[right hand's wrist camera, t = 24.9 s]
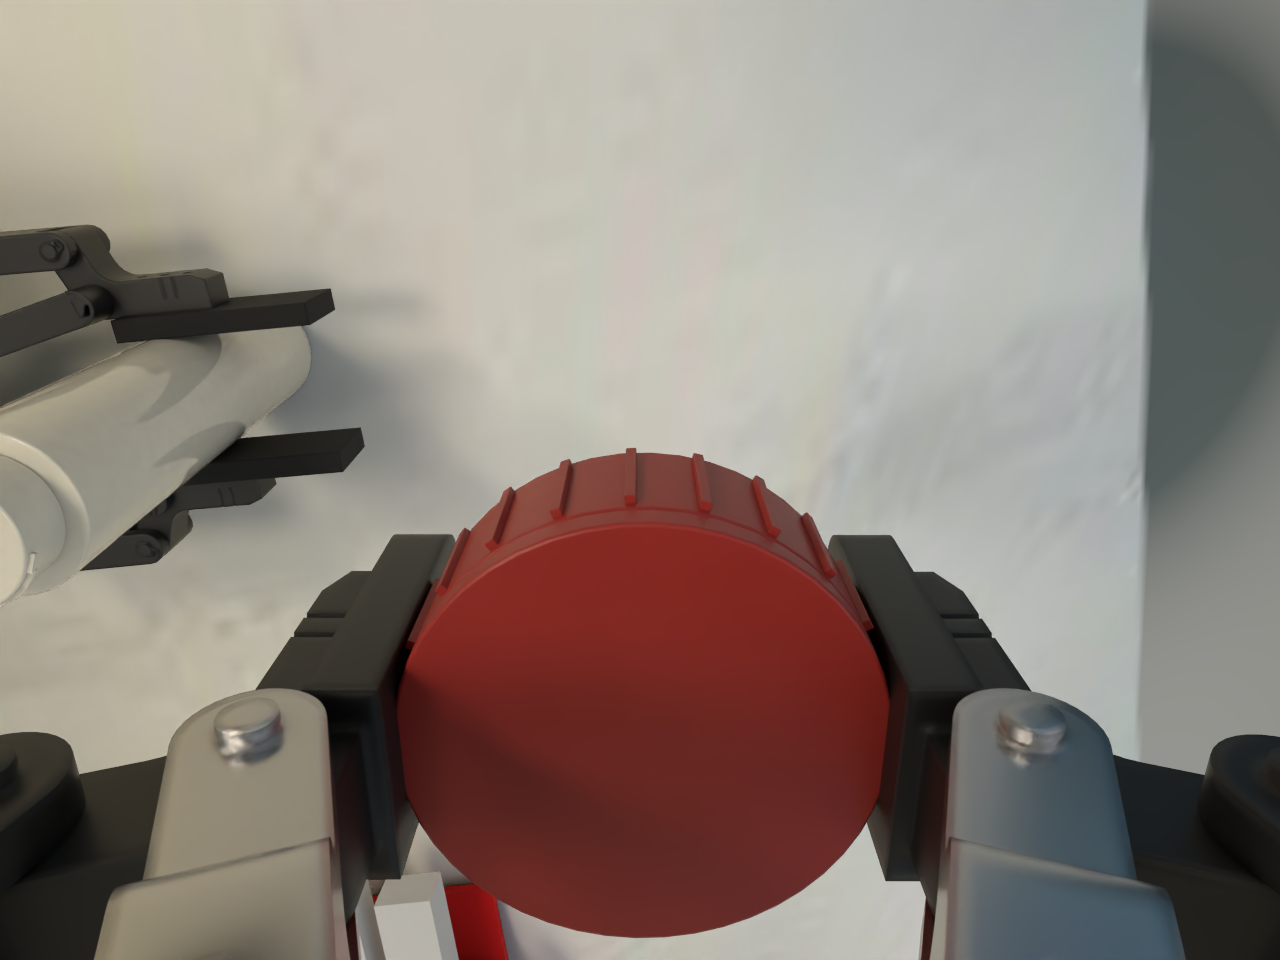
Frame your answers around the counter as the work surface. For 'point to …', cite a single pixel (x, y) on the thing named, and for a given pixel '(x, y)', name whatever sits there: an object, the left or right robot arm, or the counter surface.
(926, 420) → the counter surface
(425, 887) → the toy
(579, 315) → the counter surface
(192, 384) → the jar
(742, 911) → the lid
